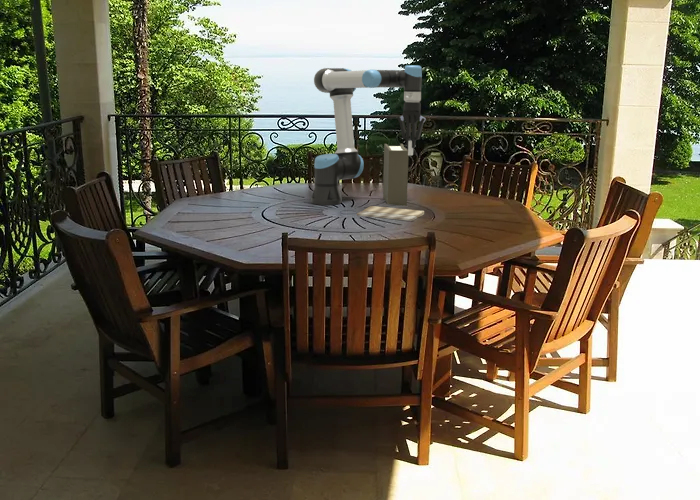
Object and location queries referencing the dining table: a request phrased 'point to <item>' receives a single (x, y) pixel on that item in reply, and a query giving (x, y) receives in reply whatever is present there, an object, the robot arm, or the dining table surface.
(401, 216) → the laid boards
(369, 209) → the plank
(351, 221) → the dining table surface
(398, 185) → the olive curved-top slab
